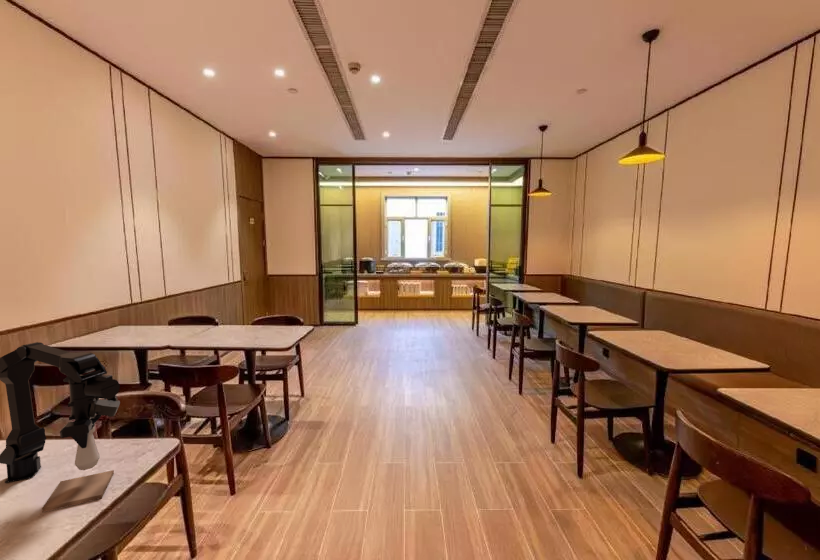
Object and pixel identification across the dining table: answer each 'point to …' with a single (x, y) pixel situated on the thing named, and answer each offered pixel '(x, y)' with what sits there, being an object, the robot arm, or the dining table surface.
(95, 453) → the salt shaker
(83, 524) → the dining table surface
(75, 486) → the walnut board
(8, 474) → the robot arm
